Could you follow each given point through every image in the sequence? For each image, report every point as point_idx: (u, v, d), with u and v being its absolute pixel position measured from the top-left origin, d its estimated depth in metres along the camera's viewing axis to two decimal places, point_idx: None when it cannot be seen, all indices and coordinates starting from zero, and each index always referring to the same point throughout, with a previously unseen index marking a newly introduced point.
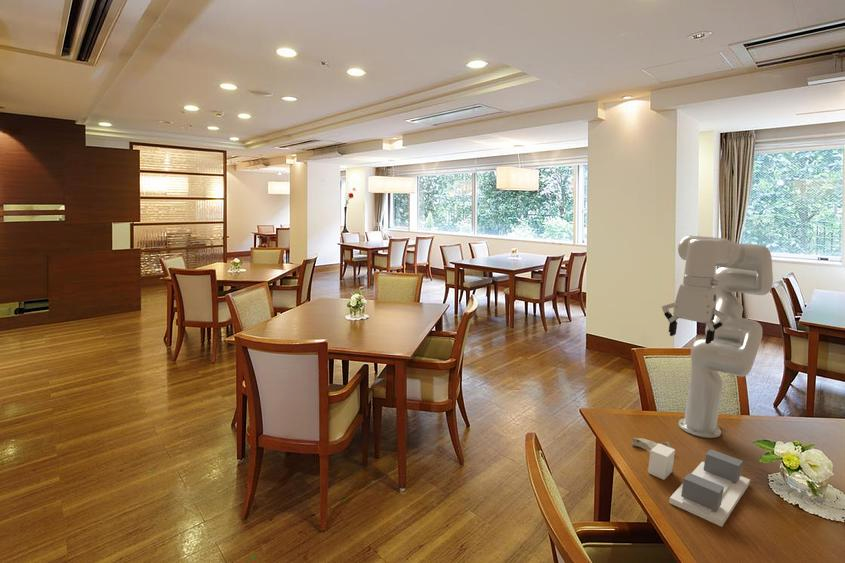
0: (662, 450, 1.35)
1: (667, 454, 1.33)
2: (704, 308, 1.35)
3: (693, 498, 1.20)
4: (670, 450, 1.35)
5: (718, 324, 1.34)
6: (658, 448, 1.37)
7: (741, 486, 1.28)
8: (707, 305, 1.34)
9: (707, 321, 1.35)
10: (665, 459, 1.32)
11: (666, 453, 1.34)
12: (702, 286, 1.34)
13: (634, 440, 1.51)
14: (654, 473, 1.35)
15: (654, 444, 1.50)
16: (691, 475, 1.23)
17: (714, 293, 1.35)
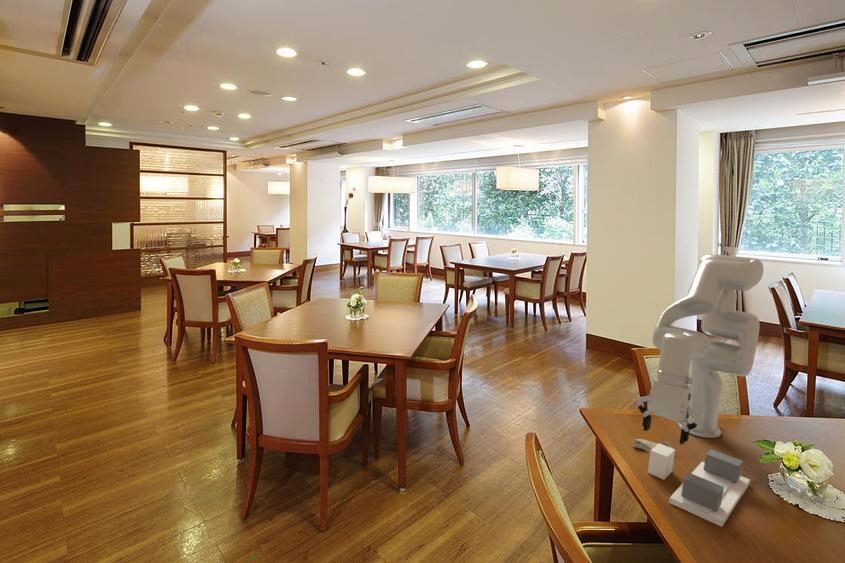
0: (662, 450, 1.35)
1: (667, 454, 1.33)
2: (678, 407, 1.29)
3: (693, 498, 1.20)
4: (670, 450, 1.35)
5: (692, 425, 1.28)
6: (658, 448, 1.37)
7: (741, 486, 1.28)
8: (681, 404, 1.28)
9: (681, 421, 1.29)
10: (665, 459, 1.32)
11: (666, 453, 1.34)
12: (676, 385, 1.28)
13: (635, 442, 1.50)
14: (654, 473, 1.35)
15: (654, 444, 1.50)
16: (691, 475, 1.23)
17: (689, 392, 1.29)
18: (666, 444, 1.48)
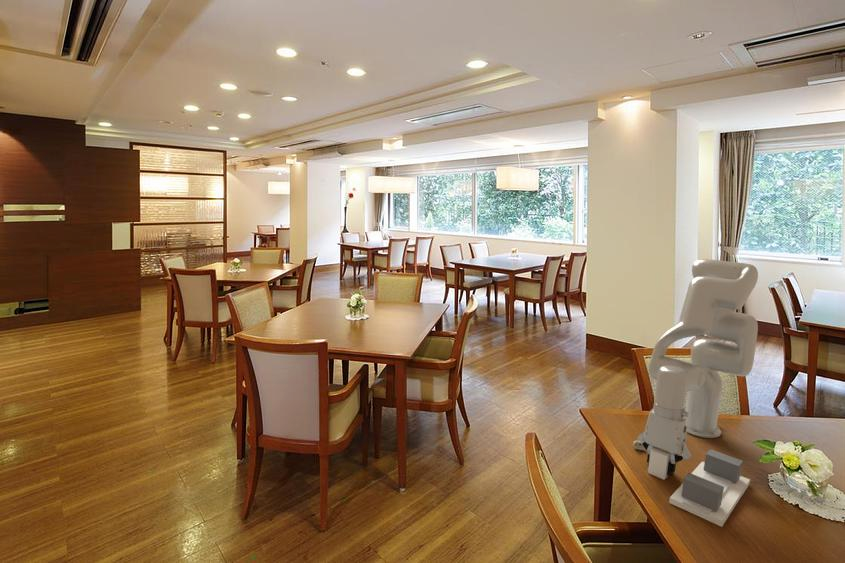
0: (662, 450, 1.35)
1: (667, 454, 1.33)
2: (674, 440, 1.31)
3: (693, 498, 1.20)
4: None
5: (679, 458, 1.32)
6: None
7: (741, 486, 1.28)
8: (677, 437, 1.30)
9: (677, 453, 1.31)
10: (665, 459, 1.32)
11: (666, 453, 1.34)
12: (672, 418, 1.30)
13: (636, 444, 1.49)
14: (654, 473, 1.35)
15: None
16: (691, 475, 1.23)
17: (684, 425, 1.30)
18: None
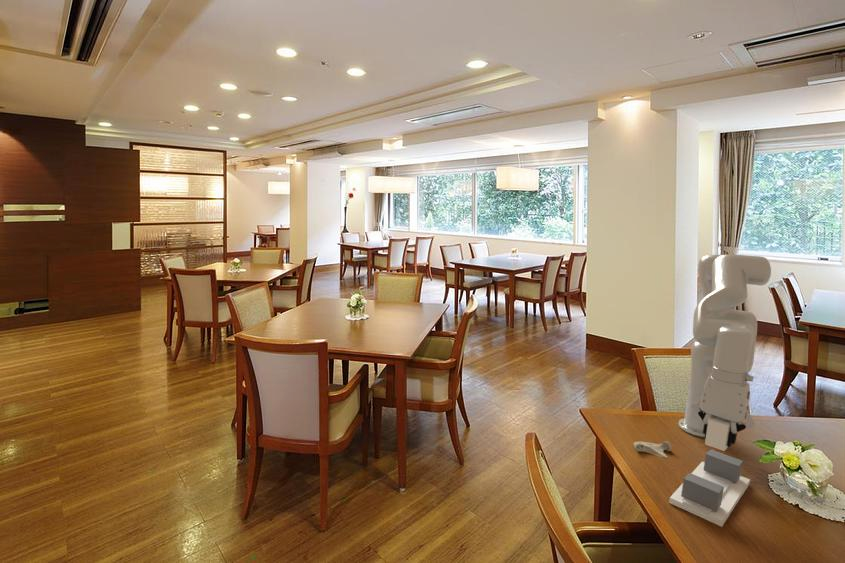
0: (721, 419, 1.23)
1: (727, 423, 1.22)
2: (736, 407, 1.19)
3: (693, 498, 1.20)
4: None
5: (741, 426, 1.20)
6: (716, 417, 1.25)
7: (741, 486, 1.28)
8: (740, 404, 1.19)
9: (740, 421, 1.19)
10: (726, 428, 1.21)
11: (726, 422, 1.22)
12: (734, 382, 1.18)
13: (638, 446, 1.48)
14: (712, 444, 1.23)
15: (654, 446, 1.49)
16: (691, 475, 1.23)
17: (748, 390, 1.19)
18: (666, 444, 1.49)
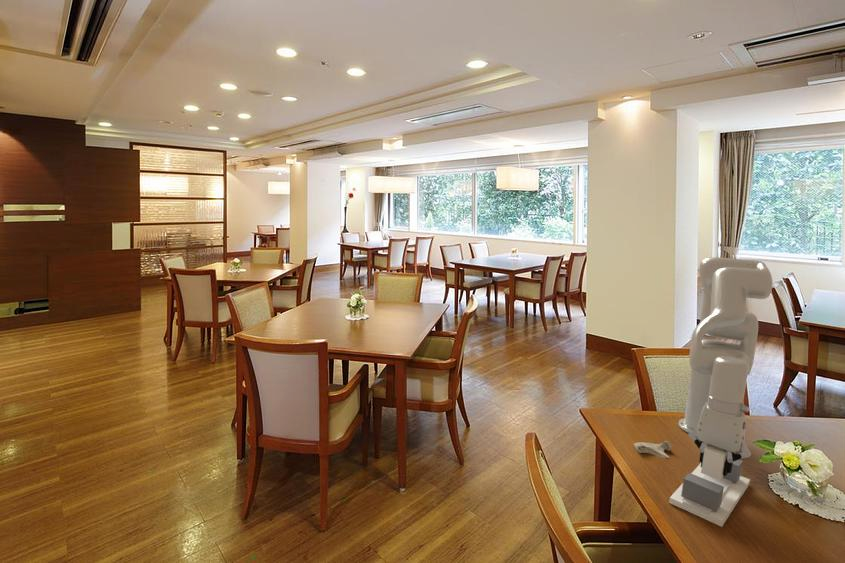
0: (717, 448, 1.25)
1: (723, 452, 1.23)
2: (732, 437, 1.20)
3: (693, 498, 1.20)
4: None
5: (737, 456, 1.21)
6: None
7: (741, 486, 1.28)
8: (735, 434, 1.20)
9: (735, 451, 1.21)
10: (722, 458, 1.22)
11: (722, 451, 1.23)
12: (730, 413, 1.20)
13: (640, 447, 1.47)
14: (709, 473, 1.24)
15: (654, 446, 1.49)
16: (691, 475, 1.23)
17: (743, 420, 1.20)
18: (666, 443, 1.49)
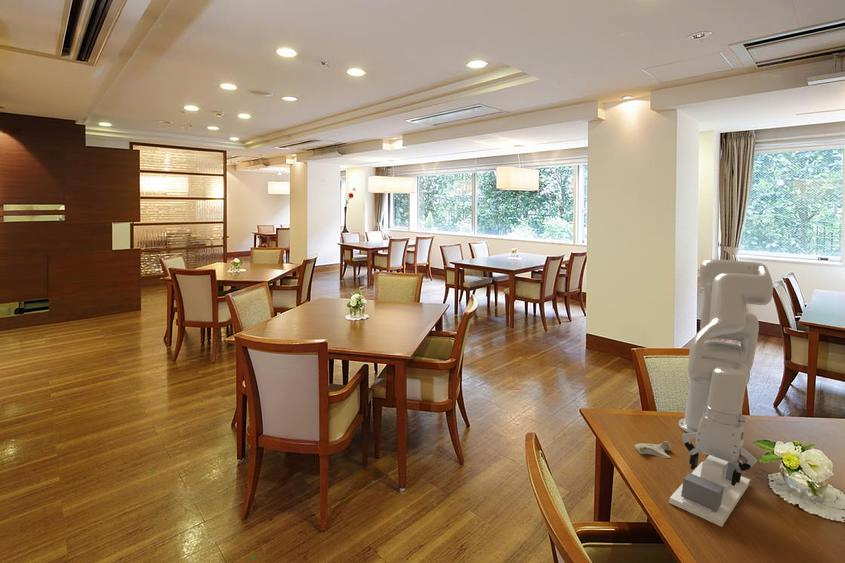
0: (715, 463, 1.26)
1: (721, 467, 1.24)
2: (730, 447, 1.21)
3: (693, 498, 1.20)
4: (723, 462, 1.26)
5: (746, 466, 1.20)
6: (709, 460, 1.27)
7: (741, 486, 1.28)
8: (734, 444, 1.21)
9: (733, 461, 1.21)
10: (719, 473, 1.23)
11: (720, 466, 1.24)
12: (728, 424, 1.20)
13: (642, 449, 1.46)
14: None
15: (655, 446, 1.49)
16: (691, 475, 1.23)
17: (741, 431, 1.21)
18: (666, 443, 1.49)
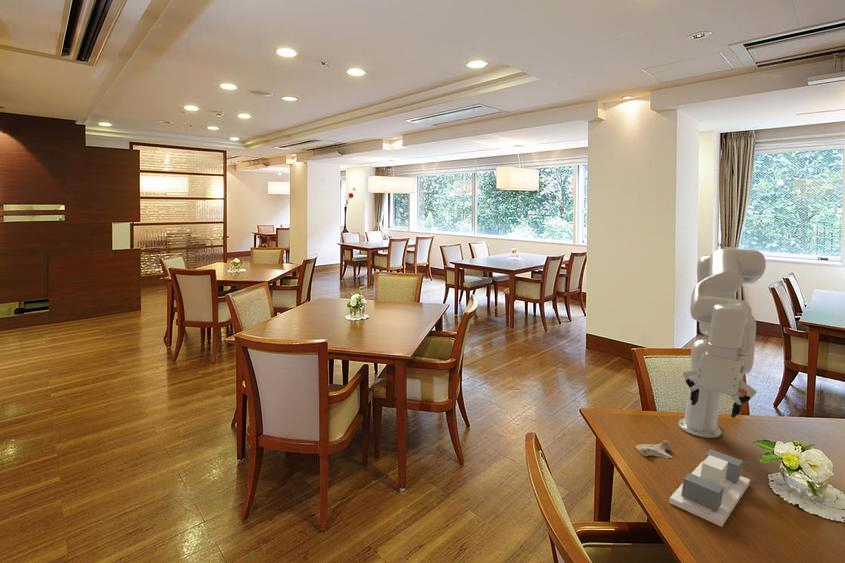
0: (715, 463, 1.26)
1: (721, 467, 1.24)
2: (730, 381, 1.25)
3: (693, 498, 1.20)
4: (723, 462, 1.26)
5: (746, 398, 1.24)
6: (709, 460, 1.27)
7: (741, 486, 1.28)
8: (734, 378, 1.24)
9: (733, 394, 1.25)
10: (719, 473, 1.23)
11: (720, 466, 1.24)
12: (728, 358, 1.23)
13: (645, 450, 1.45)
14: None
15: (655, 447, 1.49)
16: (691, 475, 1.23)
17: (741, 364, 1.24)
18: (666, 443, 1.49)
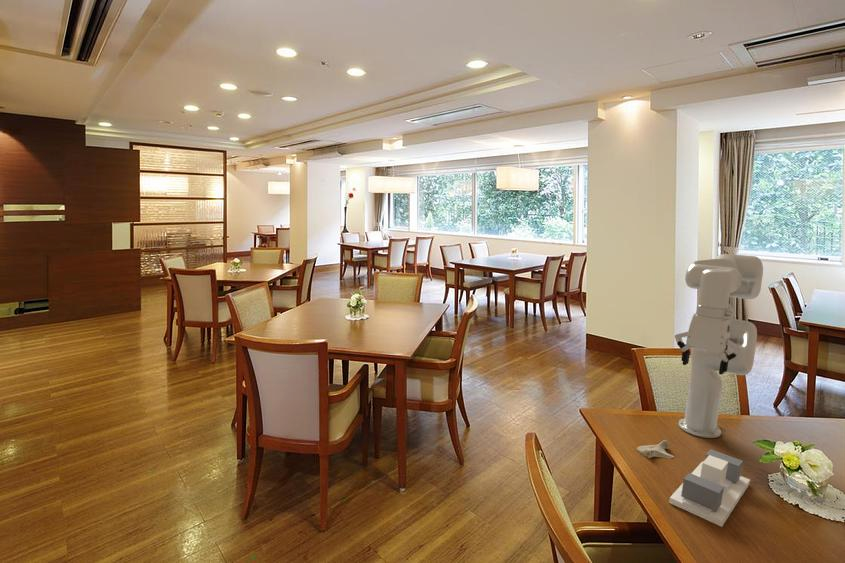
0: (715, 463, 1.26)
1: (721, 467, 1.24)
2: (718, 339, 1.35)
3: (693, 498, 1.20)
4: (723, 462, 1.26)
5: (732, 355, 1.34)
6: (709, 460, 1.27)
7: (741, 486, 1.28)
8: (721, 336, 1.34)
9: (721, 352, 1.35)
10: (719, 473, 1.23)
11: (720, 466, 1.24)
12: (716, 317, 1.34)
13: (649, 452, 1.44)
14: None
15: (656, 447, 1.48)
16: (691, 475, 1.23)
17: (728, 324, 1.35)
18: (665, 443, 1.49)
